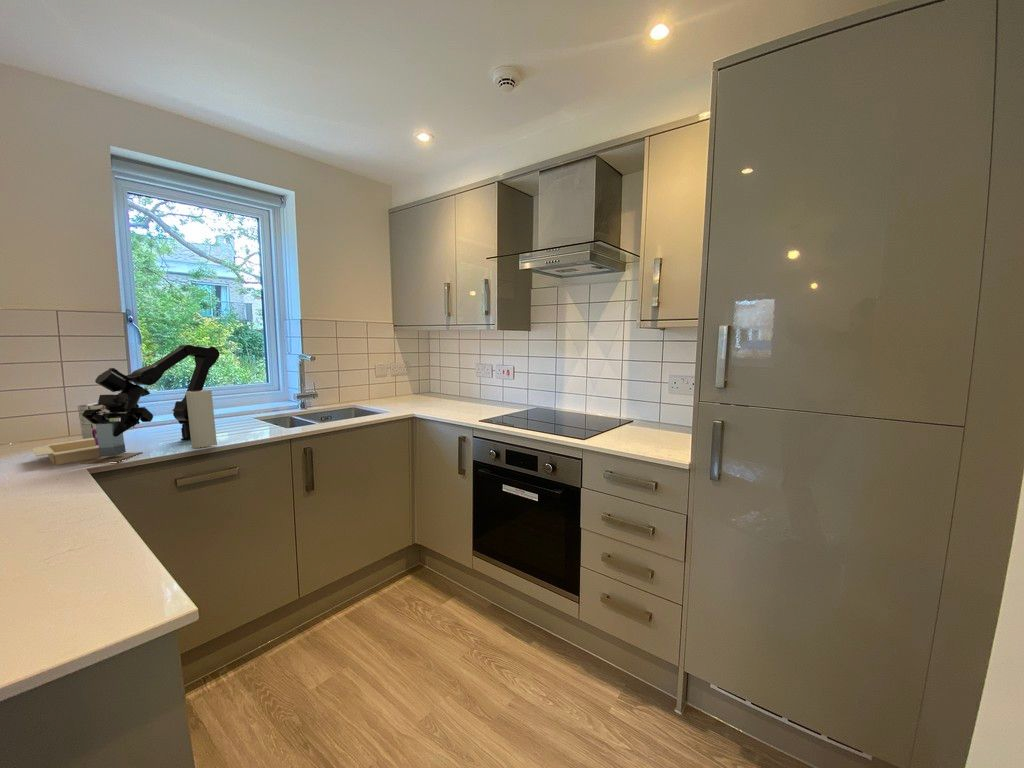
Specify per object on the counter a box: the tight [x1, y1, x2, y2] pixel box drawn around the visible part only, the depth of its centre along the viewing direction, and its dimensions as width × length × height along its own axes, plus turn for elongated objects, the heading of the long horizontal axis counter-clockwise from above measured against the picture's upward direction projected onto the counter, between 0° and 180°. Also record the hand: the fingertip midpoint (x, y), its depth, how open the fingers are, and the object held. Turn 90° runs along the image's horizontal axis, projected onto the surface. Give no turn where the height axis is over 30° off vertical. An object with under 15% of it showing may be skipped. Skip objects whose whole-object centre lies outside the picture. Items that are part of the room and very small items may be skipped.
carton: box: [31, 438, 100, 466], centre depth 147 cm, size 22×23×4 cm
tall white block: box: [185, 389, 218, 449], centre depth 157 cm, size 7×6×21 cm
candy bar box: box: [77, 401, 120, 446], centre depth 166 cm, size 11×5×16 cm, turn 179°
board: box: [80, 451, 143, 465], centre depth 143 cm, size 11×11×1 cm
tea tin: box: [96, 420, 127, 457], centre depth 142 cm, size 5×5×11 cm
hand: (107, 436), depth 141 cm, fingers closed on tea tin, 4 cm apart
